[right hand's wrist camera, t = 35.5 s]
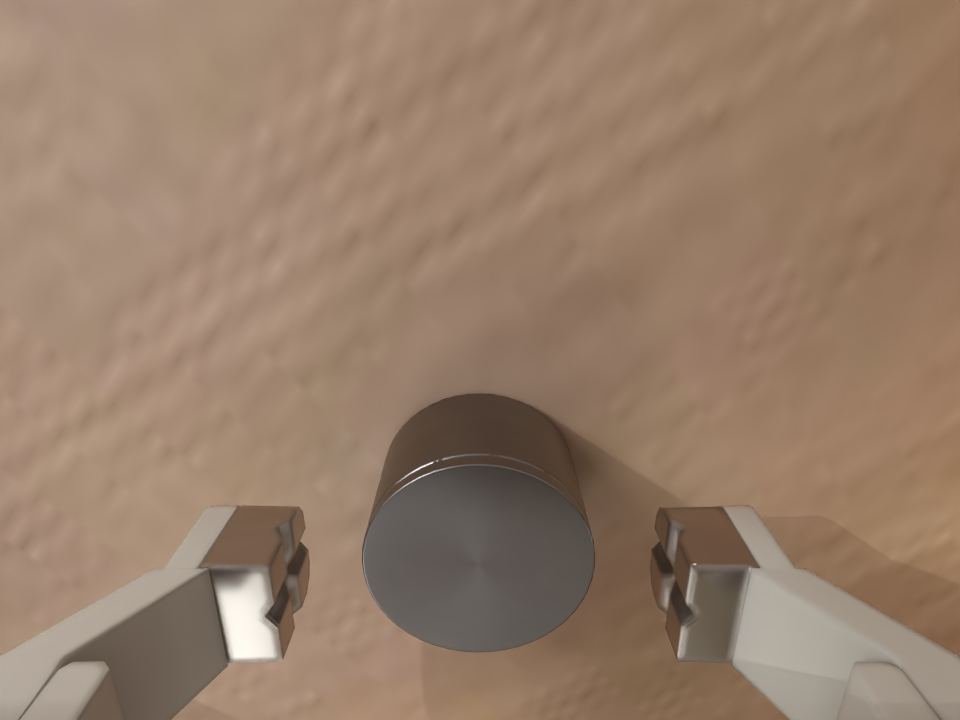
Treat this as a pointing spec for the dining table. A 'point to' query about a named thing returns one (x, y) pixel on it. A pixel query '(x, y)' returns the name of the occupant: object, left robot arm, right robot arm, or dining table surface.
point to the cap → (478, 527)
